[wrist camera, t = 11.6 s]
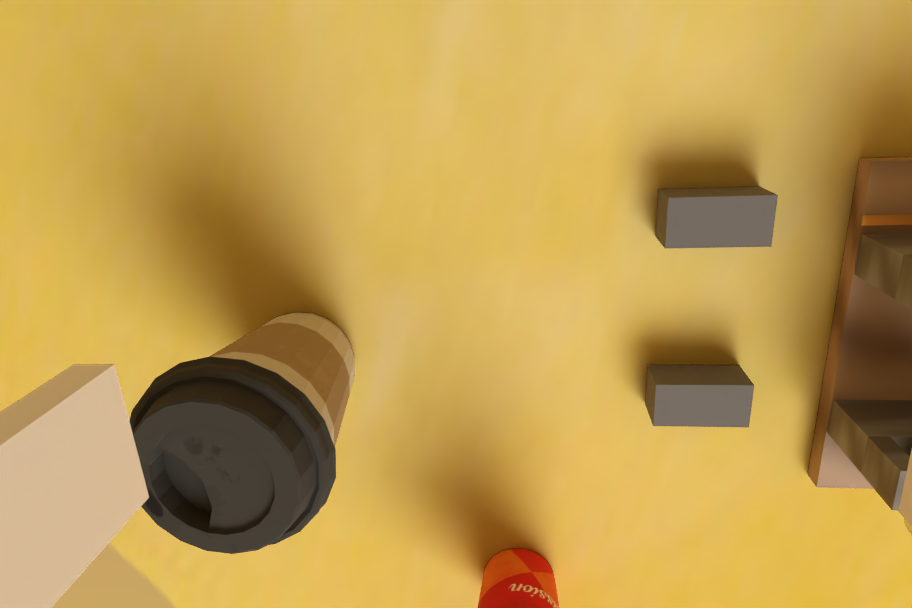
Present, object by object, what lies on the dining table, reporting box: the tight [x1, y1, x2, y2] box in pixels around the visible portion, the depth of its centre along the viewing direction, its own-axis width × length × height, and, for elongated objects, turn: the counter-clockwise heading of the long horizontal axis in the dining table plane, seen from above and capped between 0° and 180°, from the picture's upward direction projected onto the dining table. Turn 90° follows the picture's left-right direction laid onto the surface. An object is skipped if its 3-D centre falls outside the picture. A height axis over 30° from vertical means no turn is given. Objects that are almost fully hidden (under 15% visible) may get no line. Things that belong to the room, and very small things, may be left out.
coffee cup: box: [130, 312, 355, 554], centre depth 39 cm, size 11×11×15 cm
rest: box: [645, 186, 778, 427], centre depth 40 cm, size 15×6×3 cm, turn 3°
